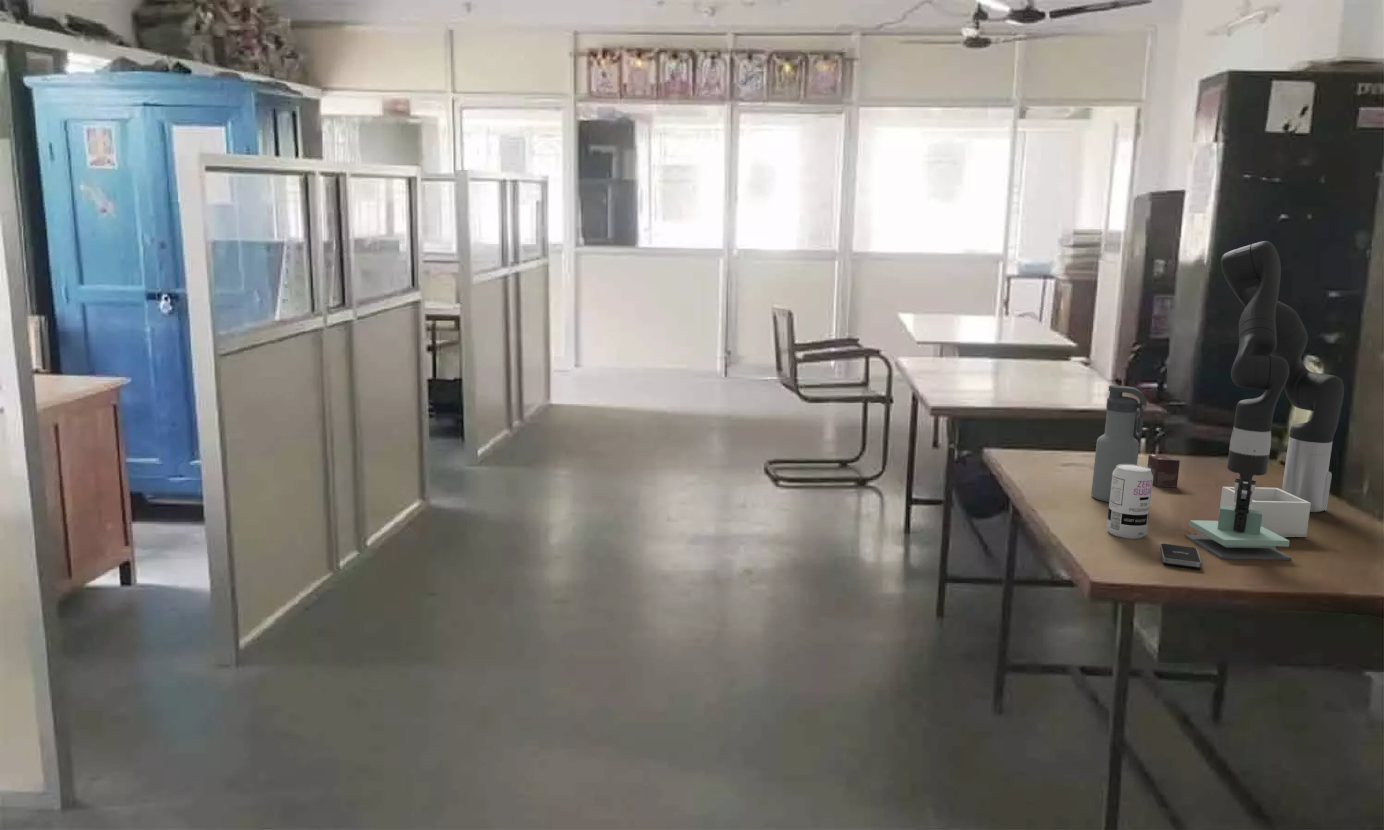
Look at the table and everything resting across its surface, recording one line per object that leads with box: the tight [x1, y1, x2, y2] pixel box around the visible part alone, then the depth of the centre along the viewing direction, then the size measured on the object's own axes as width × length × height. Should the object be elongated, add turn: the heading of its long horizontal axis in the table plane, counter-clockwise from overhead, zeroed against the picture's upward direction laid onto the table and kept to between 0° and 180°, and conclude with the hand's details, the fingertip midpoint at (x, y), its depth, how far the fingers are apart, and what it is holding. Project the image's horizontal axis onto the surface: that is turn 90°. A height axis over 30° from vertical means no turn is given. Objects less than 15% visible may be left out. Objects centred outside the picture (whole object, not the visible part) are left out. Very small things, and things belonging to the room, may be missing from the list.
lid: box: [1189, 504, 1290, 549], centre depth 231 cm, size 14×14×7 cm
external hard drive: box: [1159, 542, 1202, 571], centre depth 222 cm, size 7×11×2 cm, turn 160°
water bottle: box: [1090, 384, 1147, 503], centre depth 267 cm, size 10×10×28 cm
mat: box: [1184, 534, 1293, 561], centre depth 232 cm, size 15×15×1 cm
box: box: [1147, 454, 1181, 488], centre depth 286 cm, size 6×6×7 cm
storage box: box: [1217, 486, 1311, 538], centre depth 246 cm, size 13×13×8 cm
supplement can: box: [1106, 464, 1153, 540], centre depth 238 cm, size 8×8×15 cm
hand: (1239, 528), depth 231 cm, fingers closed on lid, 3 cm apart
